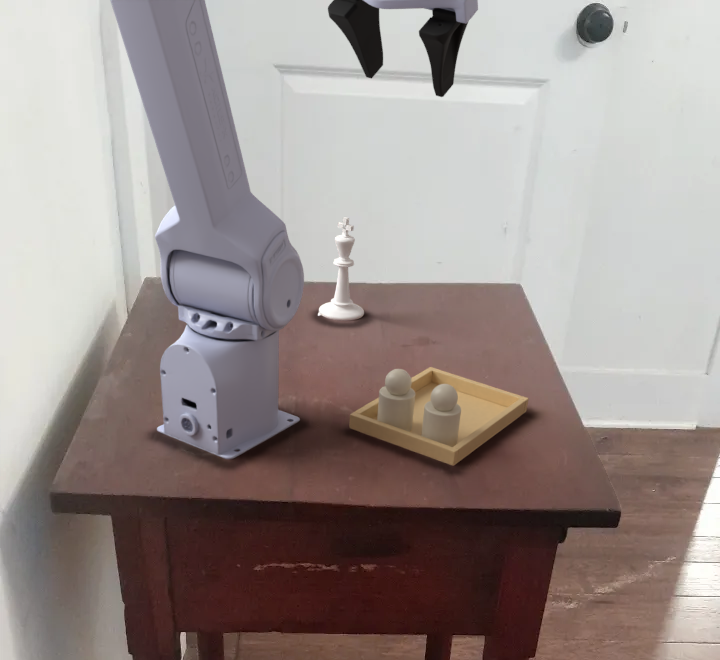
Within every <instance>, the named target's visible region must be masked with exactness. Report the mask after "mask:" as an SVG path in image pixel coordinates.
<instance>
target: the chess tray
mask: <svg viewBox="0 0 720 660" xmlns="http://www.w3.org/2000/svg"><path fill="white" fill-rule="evenodd" d="M411 381H412V384H411V389H413V390H414V391H415V403H414V413H413V423H412V429H411V431H410V432H408V431H406V430H403V429H400V428H397V427H394V426H392V425H389V424H386V423H383V422H380V421H377V416H378V403H379V396H378V397H377V398H375V399H374V400H372V401H370V402H368V403H366V404H365V405H363V406H362V407H360V408H358V409H357V410H355V411H353V412H351V413H350V414H349V423H348V424H349V429H351V430H354V431H357V432H360V433H362V434H365V435H367V436H370V437H373V438H375V439H378V440H382V441H384V442H387V443H390V444H392V445H395V446H398V447H401V448H403V449H405V450H409V451H411V452H415V453H417V454H420V455H422V456H425V457H427V458H431V459H433V460H436V461H439V462H441V463H444V464H447V465H450V466H455V465H457V464H458V463H459V462H460V461H462V460H463V459H465V458H466V457H467V456H469V455H470V454H471V453H472V452H474V451H475V450H476V449H478V448H479V447H481V446H482V445H483V444H485V443H486V442H487V441H489V440H490V439H492V438H493V437H494V436H495V435H497V434H498V433H499V432H501V431H502V430H503V429H505V428H507V427H508V426H509V425H510V424H512V423H513V422H514V421H516V420H517V419H518V418H520V417H521V416H523V415H524V414H525V413H527V410H528V406H529V400H530V398H529V397H526V396H523V395H519V394H517V393H513V392H511V391H507V390H504V389H502V388H498V387H494V386H491V385H489V384H485V383H482V382H480V381H477V380H473V379H470V378H467V377H464V376H461V375H459V374H458V375H457V374H454V373H451V372H448V371H445V370H442V369H439V368H436V367H433V366H429V367H427V368H426V369H424V370H423V371H421V372H419V373H417V374H416V375H414V376H412V377H411ZM440 384H449V385H451V386H452V387H454V388H455V390H456V392H457V394H458V401H457V404H458V405H459V406H460V407H461V416H460V424H459V431H458V439H457V444H456V445H455V446H454V447H450V446H448V445H445V444H442V443H439V442H436V441H434V440H431V439H428V438H425V437H422V436H421V435H422V425H423V416H424V407H425V404H426V403H427V402H429V401H431V393H432V391H433V389H434V388H435V387H436V386H438V385H440Z"/></svg>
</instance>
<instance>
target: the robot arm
mask: <svg viewBox="0 0 720 660" xmlns="http://www.w3.org/2000/svg"><path fill="white" fill-rule="evenodd" d="M109 1H110V4H111V7H112V11H113V14H114V17H115V20H116V24H117V26H118V29H119V33H120V36H121V39H122V42H123V46H124V49H125V51H126V55H127V58H128V61H129V65H130V67H131V71H132V74H133V77H134V80H135V84H136V87H137V90H138V94H139V95H140V99H141V102H142V105H143V108H144V111H145V115H146V119H147V121H148V125H149V127H150V131H151V134H152V137H153V141H154V144H155V147H156V150H157V152H158V156H159V159H160V162H161V166H162V168H163V172H164V175H165V178H166V181H167V184H168V187H169V191H170V193H171V194H170V195H171V196H172V197H171V198H172V200H173V204H174V205H173V206H172V207H171V208H170V209H169V210H168V212H167V213H166V214H164V217H163V218H162V219H161V221H160V223H159V226H158V228H157V229H156V231H155V235H154V239H155V241H156V245H157V247H158V252H159V257H160V266H159V267H160V272H159V273H160V279H161V284H162V289H163V292H164V294H165V296H166V298H167V300H168V301H169V302H170V303H171V304H172V305H173V306H176V307H177V311H178V312H177V313H178V321H181V322H184V323H186V325H185V328H184V330H183V332H182V334H181V336H179V338H178V339H177V340H176V341H174V342H173V343H172V344H171V345H169V346H168V347H167V348H166V349H165V350H164V352H163V354H162V356H161V359H160V365H159V374H160V390H161V402H162V405H161V406H162V416H163V417H162V419H163V424H161V425H159V426H158V427H156V431H157V432H158V433H160V434H163V435H164V436H165V435H166V436H167V437H170V438H173V439H175V440H178V441H180V442H182V443H185V444H187V445H190V446H193V447H195V448H198V449H200V450H202V451H205V452H207V453H210V454H212V455H214V456H217V457H220V458H222V459H224V460H233V459H235V458H237V457H239V456H240V455H242V454H244V453H246V452H248V451H249V450H251V449H253V448H255V447H256V446H258V445H260V444H262V443H264V442H266V441H267V440H269V439H271V438H273V437H274V436H276V435H277V434H279V433H282V432H283V431H285V430H286V429H288V428H290V427H291V426H295V424H297V423H299V422H300V421H301V419H300V417H298V416H297V415H293V414H292V413H289V412H285V411H283V410H281V409H279V394H280V393H279V388H280V386H279V385H280V381H279V380H280V379H279V377H280V375H279V374H280V331H281V330H282V329H284V328H285V327H286V326H287V325H288V324H289V323H290V322H291V321H292V320H293V318H294V317H295V315H296V313H297V311H298V310H299V307H300V304H301V303H302V298H303V293H304V289H305V288H304V287H305V273H304V272H305V271H304V267H303V263H302V260H301V257H300V255H299V252H298V250H297V249H296V248H295V247H294V246H293V245H292V243H291V241H290V238H289V233H288V230H287V225H286V223H285V222H284V221H283V220H282V219H281V218H280V217H279V216H278V215H277V214H276V213H274V212H273V211H272V210H271V209H270V208H269V207H267V206H266V205H265V204H264V203H263V202H262V201H261V200H260V199H259V198H258V197H256V196H255V195H254V194H253V192H252V191H251V187H250V184H249V178H248V175H247V170H246V167H245V162H244V158H243V154H242V153H243V152H242V150H241V146H240V145H241V144H240V141H239V138H238V137H239V136H238V132H237V128H236V125H235V121H234V117H233V112H232V109H231V104H230V100H229V95H228V91H227V87H226V84H225V83H226V82H225V79H224V75H223V70H222V65H221V62H220V59H219V55H218V50H217V46H216V41H215V38H214V33H213V28H212V25H211V20H210V16H209V12H208V8H207V5H206V4H207V3H206V0H109ZM380 9H381V10H409V9H410V10H411V9H412V10H414V9H424V10H429V11H431V12H432V15H431V16H430V17H429V19H427V21H426V22H425V23H424V24H423V25H422V27H421V28H420V29H419V30H418V34H419V35H418V36H419V38H420V39H421V42H422V43H423V46H424V48H425V51H426V54H427V56H428V61H429V65H430V70H431V80H432V87H433V90H434V94H435V96H436V97H440V98H443V97H445V96H446V94H447V93H448V92H449V90H450V89H451V88H452V87H453V86H454V83H455V82H454V81H455V72H456V66H457V60H458V56H459V52H460V47H461V44H462V41H463V37H464V35H465V32H466V29H467V27H468V24H469V21H470V20H472V18H473V17H474V15H476V13H477V12H478V10H479V0H332V1H331V2H330V3H329V5H328V6H327V12H328V17H329V19H330V20H331V21H332V22H333V23H335V25H336V26H337V27H338V28H339V30H340V31H341V32H342V34H343V35H344V36H345V38H346V39H347V41H348V43H349V44H350V46H351V48H352V50H353V52H354V54H355V56H356V59H357V60H358V63H359V65H360V67H361V69H362V71H363V73H364V75H365V77H366V78H368V79H373V78H374V76H375V75H376V74H377V73H378V72H379V71H380V70H381V69H382V67H383V66H384V49H383V42H382V41H383V40H382V33H381V24H380Z"/></svg>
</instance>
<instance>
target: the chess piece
mask: <svg viewBox="0 0 720 660" xmlns="http://www.w3.org/2000/svg"><path fill="white" fill-rule="evenodd" d="M337 228H338V229H342V231H341V234H338V235H336V236H335V237H334V243H335V245H336V249H337V253H338V257H336V258H334V259H333V263H332V264H333V265H334V266H337V267H338V272H337V279H336V286H335V291H334V295H333V298H331V299H330V301H329V302H325V303H323V304H321V305H320V306H319V308H318V313H317V317H320V316H322V317H323V318H326V319H329V320H333V321H339V322H341V321H342V322H350V321H356V320H358V319H361V318H362V317H363V316H364V315H365V311H364V308H363V307H362V306H361V305H358V304H356V303H354V300H353V299H351V293H350V292H351V291H350V279H349V278H350V277H349V268H352V267H353V266H354V265H355V261H354V260H353V259H351V257H350V255H351V253H352V249H353V246H355V245H354V244H355V241H356V239H355V238H354V236H352V235H350V234H349V232H353V231H354V229H355V226H354V225H352V224H350V217H347V216H344V217H342V222H340V221H339V222H337Z"/></svg>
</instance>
